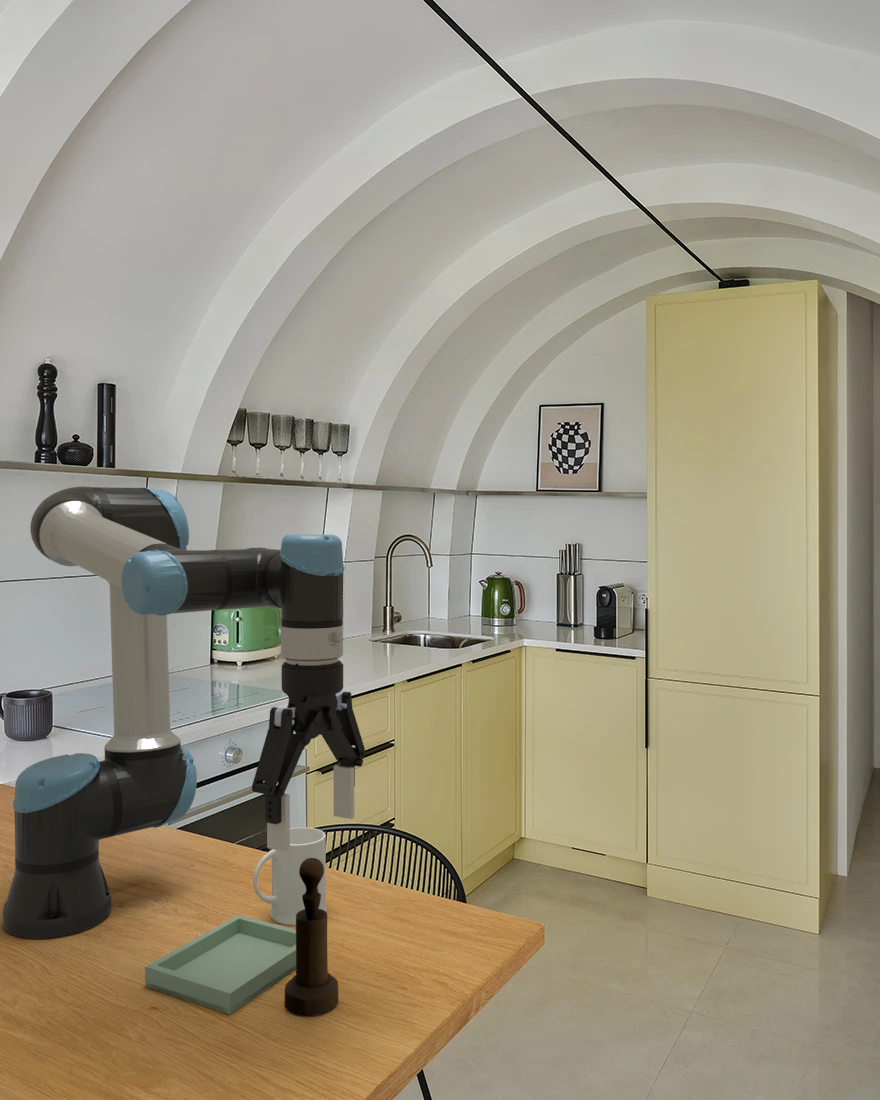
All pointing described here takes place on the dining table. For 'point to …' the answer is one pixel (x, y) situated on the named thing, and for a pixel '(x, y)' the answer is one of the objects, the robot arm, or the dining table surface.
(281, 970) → the tray
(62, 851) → the robot arm
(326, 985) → the wooden pepper mill
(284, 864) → the mug
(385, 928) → the dining table surface
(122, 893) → the dining table surface
